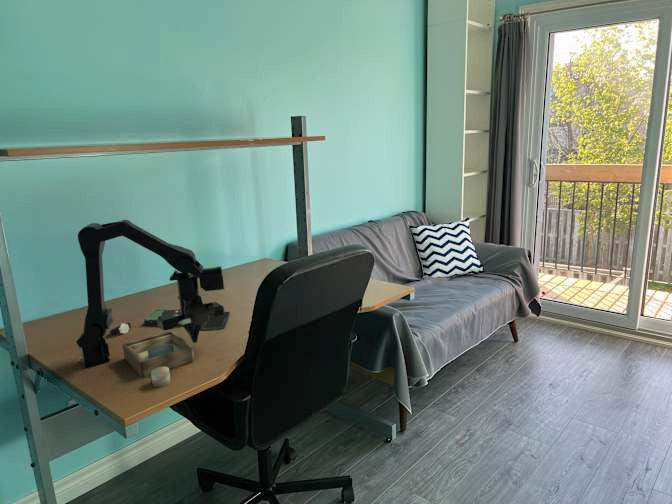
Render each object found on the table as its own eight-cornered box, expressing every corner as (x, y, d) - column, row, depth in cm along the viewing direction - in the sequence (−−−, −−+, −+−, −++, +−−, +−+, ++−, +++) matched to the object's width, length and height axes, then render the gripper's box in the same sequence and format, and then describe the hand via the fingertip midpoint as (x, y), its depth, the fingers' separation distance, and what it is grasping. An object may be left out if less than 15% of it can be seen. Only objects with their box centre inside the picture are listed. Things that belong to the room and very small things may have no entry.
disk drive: (197, 317, 179) (157, 316, 180) (196, 309, 178) (156, 309, 179) (185, 328, 169) (143, 327, 170) (185, 320, 168) (143, 319, 169)
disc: (177, 356, 143) (176, 350, 142) (152, 363, 139) (151, 356, 138) (169, 348, 148) (168, 342, 148) (145, 355, 144) (144, 348, 144)
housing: (142, 378, 133) (140, 362, 132) (124, 358, 145) (122, 344, 144) (192, 362, 141) (191, 347, 140) (171, 345, 153) (170, 331, 152)
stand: (156, 388, 127) (154, 376, 126) (150, 382, 130) (148, 370, 130) (173, 382, 130) (171, 370, 129) (166, 376, 133) (165, 364, 132)
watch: (117, 338, 161) (116, 327, 160) (106, 336, 162) (105, 326, 162) (135, 329, 168) (133, 319, 167) (124, 328, 169) (123, 317, 168)
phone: (200, 328, 164) (208, 312, 179) (200, 331, 164) (208, 315, 179) (224, 327, 164) (230, 311, 179) (224, 330, 165) (231, 314, 179)
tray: (145, 374, 134) (143, 360, 133) (128, 356, 145) (126, 343, 144) (197, 358, 142) (196, 345, 141) (177, 342, 154) (176, 330, 153)
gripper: (167, 307, 134) (174, 360, 137) (230, 291, 145) (235, 341, 148) (153, 297, 142) (160, 348, 146) (214, 283, 153) (219, 331, 157)
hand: (194, 342), depth 149 cm, fingers closed
